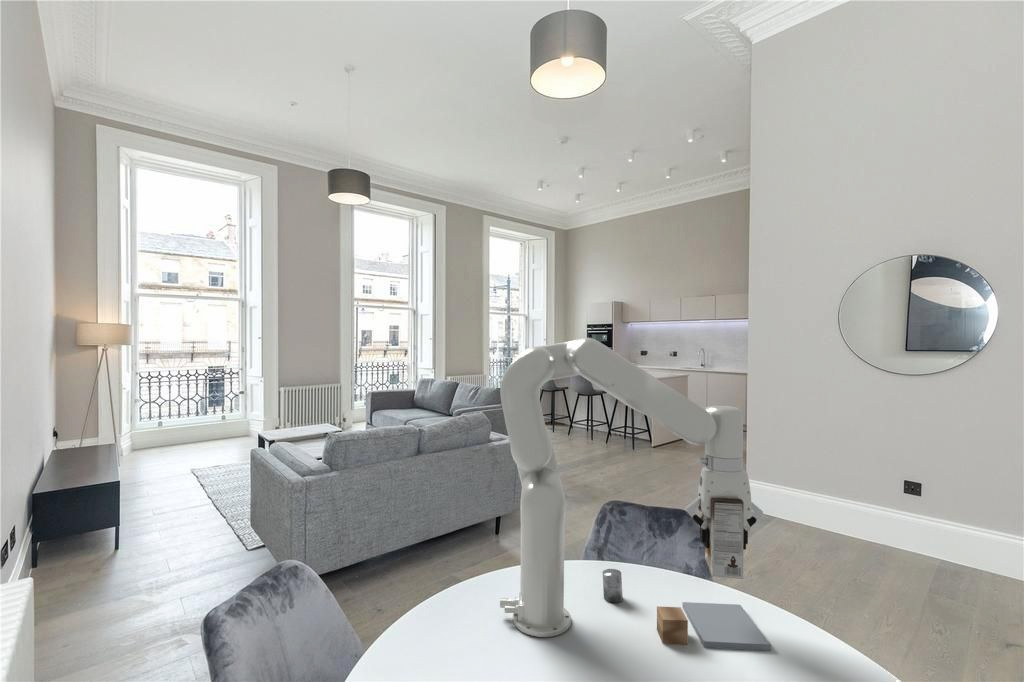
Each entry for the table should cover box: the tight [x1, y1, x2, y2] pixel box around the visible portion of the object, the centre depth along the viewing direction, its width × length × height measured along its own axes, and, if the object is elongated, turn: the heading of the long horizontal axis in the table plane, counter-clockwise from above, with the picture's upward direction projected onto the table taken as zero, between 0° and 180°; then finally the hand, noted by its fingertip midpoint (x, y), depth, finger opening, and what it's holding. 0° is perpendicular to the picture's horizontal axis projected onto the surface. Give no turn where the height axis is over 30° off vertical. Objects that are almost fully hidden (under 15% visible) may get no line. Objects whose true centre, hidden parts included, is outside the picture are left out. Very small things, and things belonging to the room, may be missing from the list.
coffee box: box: [704, 498, 744, 580], centre depth 104 cm, size 9×6×16 cm
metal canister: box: [602, 568, 623, 604], centre depth 116 cm, size 4×4×6 cm
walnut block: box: [656, 606, 689, 646], centre depth 100 cm, size 5×5×5 cm
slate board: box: [682, 601, 772, 651], centre depth 104 cm, size 13×15×1 cm
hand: (723, 545), depth 104 cm, fingers closed on coffee box, 6 cm apart
